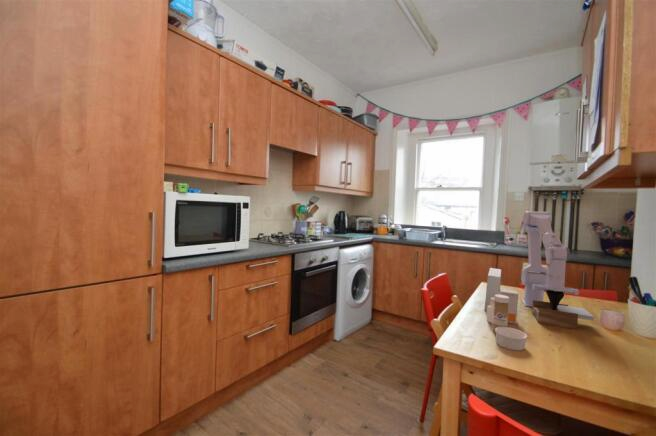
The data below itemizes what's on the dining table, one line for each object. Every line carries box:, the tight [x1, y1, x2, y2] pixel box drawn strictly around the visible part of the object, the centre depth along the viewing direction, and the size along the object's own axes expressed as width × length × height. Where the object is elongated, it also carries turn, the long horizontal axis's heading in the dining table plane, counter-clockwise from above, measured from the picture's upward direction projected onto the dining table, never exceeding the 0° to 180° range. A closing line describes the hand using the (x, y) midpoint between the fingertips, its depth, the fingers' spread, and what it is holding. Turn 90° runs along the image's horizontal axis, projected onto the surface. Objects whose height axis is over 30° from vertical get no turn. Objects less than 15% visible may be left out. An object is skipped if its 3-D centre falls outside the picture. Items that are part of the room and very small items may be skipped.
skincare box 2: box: [500, 288, 519, 325], centre depth 116 cm, size 6×4×12 cm
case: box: [531, 300, 579, 330], centre depth 117 cm, size 12×12×6 cm
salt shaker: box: [486, 298, 495, 325], centre depth 113 cm, size 4×4×10 cm
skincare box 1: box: [483, 267, 502, 312], centre depth 134 cm, size 21×6×16 cm, turn 148°
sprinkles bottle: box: [492, 294, 509, 334], centre depth 104 cm, size 5×5×13 cm
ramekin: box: [495, 326, 528, 351], centre depth 95 cm, size 9×9×4 cm
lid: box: [556, 305, 594, 321], centre depth 115 cm, size 10×10×2 cm
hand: (553, 309), depth 117 cm, fingers closed
